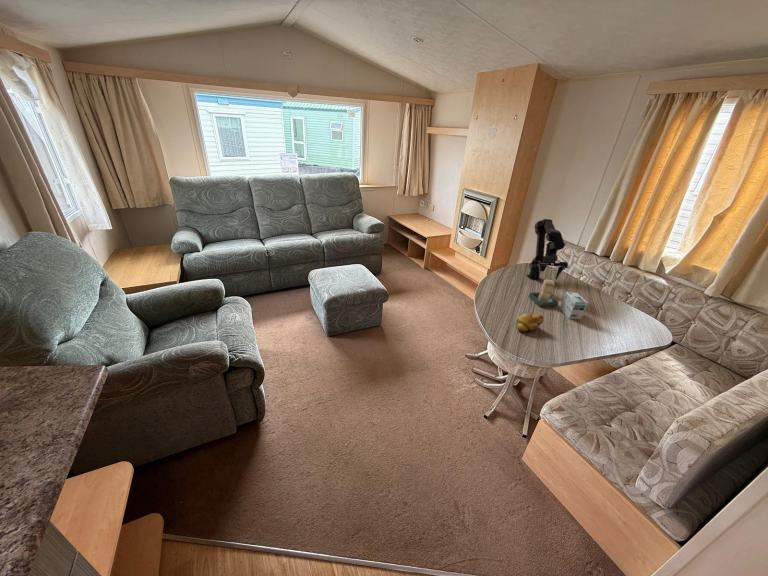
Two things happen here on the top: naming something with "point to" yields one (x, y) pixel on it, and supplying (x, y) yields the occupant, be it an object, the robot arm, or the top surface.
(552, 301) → the grey green tray
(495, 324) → the top surface
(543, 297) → the tall beech block
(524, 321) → the bread roll
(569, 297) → the light bulb box
